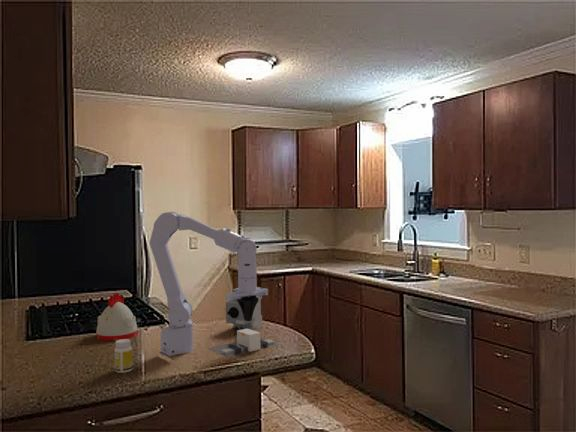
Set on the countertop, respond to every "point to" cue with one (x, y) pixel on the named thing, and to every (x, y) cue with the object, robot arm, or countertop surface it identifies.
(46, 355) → the countertop surface
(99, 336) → the kitchen timer
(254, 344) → the block
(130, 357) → the supplement bottle
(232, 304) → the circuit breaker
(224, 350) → the rail board
